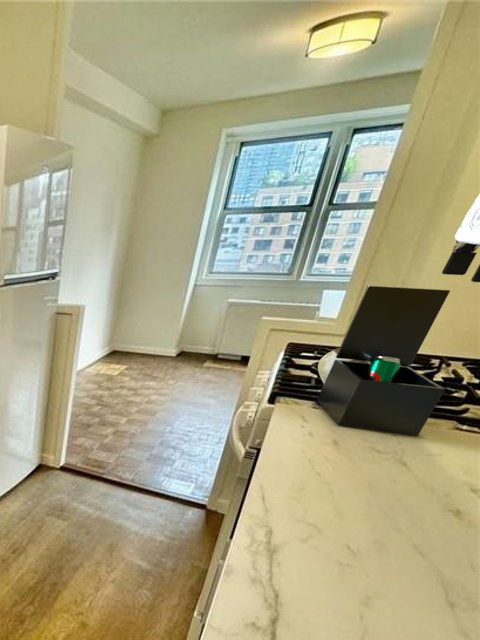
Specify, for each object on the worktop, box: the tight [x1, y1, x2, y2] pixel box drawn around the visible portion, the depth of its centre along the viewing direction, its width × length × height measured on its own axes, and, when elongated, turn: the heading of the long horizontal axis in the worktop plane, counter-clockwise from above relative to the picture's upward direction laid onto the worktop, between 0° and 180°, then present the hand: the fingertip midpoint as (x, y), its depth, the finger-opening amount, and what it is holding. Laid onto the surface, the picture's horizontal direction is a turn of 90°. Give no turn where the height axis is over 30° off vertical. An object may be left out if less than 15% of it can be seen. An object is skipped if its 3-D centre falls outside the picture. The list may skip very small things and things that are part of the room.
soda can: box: [363, 356, 402, 383], centre depth 110 cm, size 5×5×12 cm
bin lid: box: [336, 285, 451, 366], centre depth 111 cm, size 16×14×5 cm
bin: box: [315, 360, 446, 437], centre depth 109 cm, size 16×14×11 cm
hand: (467, 278), depth 89 cm, fingers open, 9 cm apart
